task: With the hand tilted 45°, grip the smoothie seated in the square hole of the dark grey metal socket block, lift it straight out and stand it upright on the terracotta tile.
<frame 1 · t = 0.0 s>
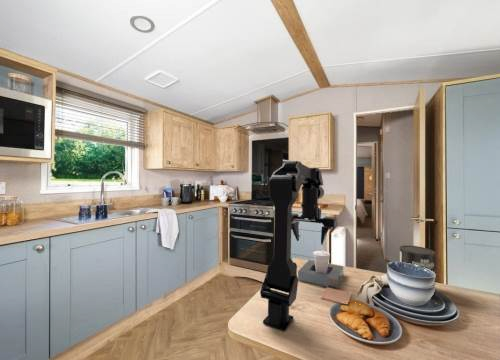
hand: (309, 242, 87), 15 cm above the countertop, tool pointing down, fingers open, 9 cm apart
smoothie: (321, 278, 90), resting in socket block
socket block: (321, 277, 90), on the countertop
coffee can: (416, 289, 81), on the countertop
tile: (336, 296, 76), on the countertop
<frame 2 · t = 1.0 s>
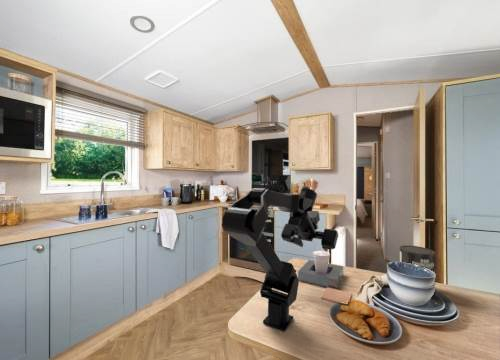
hand: (314, 248, 84), 13 cm above the countertop, tool tilted 45°, fingers open, 9 cm apart
nothing on the countertop moved.
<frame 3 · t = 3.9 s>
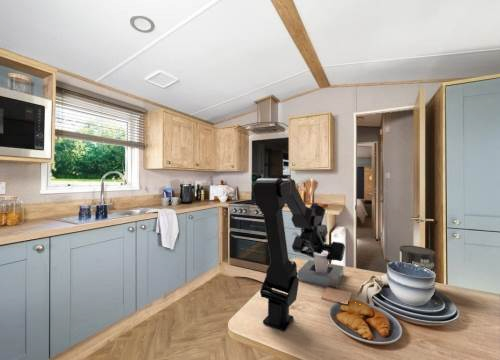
hand: (322, 258, 91), 7 cm above the countertop, tool tilted 45°, fingers closed on smoothie, 6 cm apart
smoothie: (321, 278, 90), resting in socket block, touching gripper
everything else where it was.
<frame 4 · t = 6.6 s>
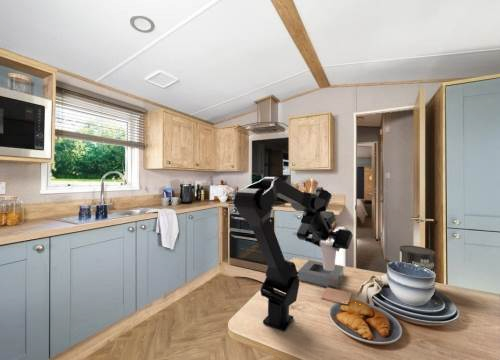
hand: (330, 248, 85), 13 cm above the countertop, tool tilted 45°, fingers closed on smoothie, 6 cm apart
smoothie: (328, 269, 84), point 6 cm above the countertop, touching gripper
everything else where it was.
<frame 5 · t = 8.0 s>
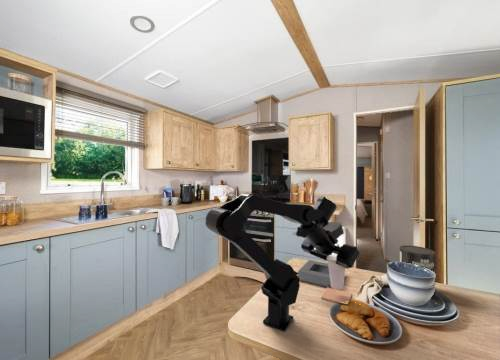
hand: (339, 264, 76), 10 cm above the countertop, tool tilted 45°, fingers closed on smoothie, 6 cm apart
smoothie: (337, 287, 75), point 3 cm above the countertop, touching gripper
everything else where it was.
when the fingers open (8 cm above the countertop, at t = 9.3 s): smoothie stays where it is, resting on tile.
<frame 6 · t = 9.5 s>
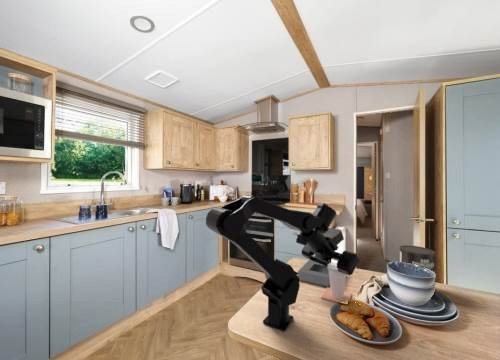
hand: (339, 269, 76), 9 cm above the countertop, tool tilted 45°, fingers open, 8 cm apart
smoothie: (337, 296, 75), resting on tile
everything else where it was.
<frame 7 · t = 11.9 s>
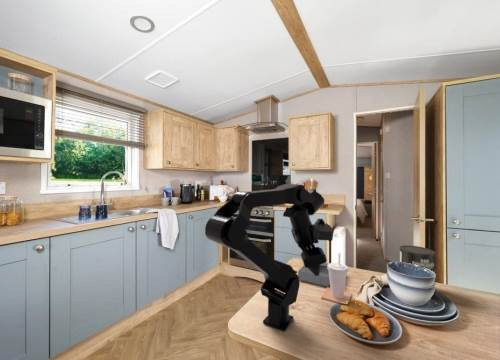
hand: (313, 265, 73), 11 cm above the countertop, tool tilted 25°, fingers open, 9 cm apart
nothing on the countertop moved.
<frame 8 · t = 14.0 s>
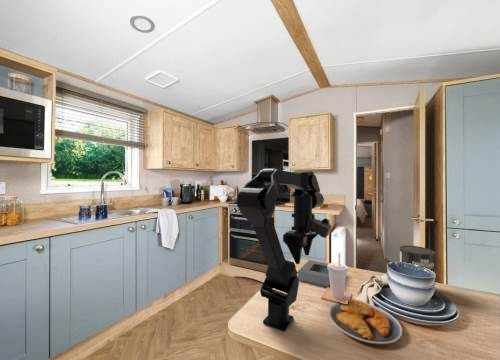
hand: (302, 259, 73), 13 cm above the countertop, tool pointing down, fingers open, 9 cm apart
nothing on the countertop moved.
at the end: smoothie inside the target area on the tile (0.4 cm from its centre), point 0.3 cm above the tile's base; smoothie tilted 0°; the gripper is holding nothing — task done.
